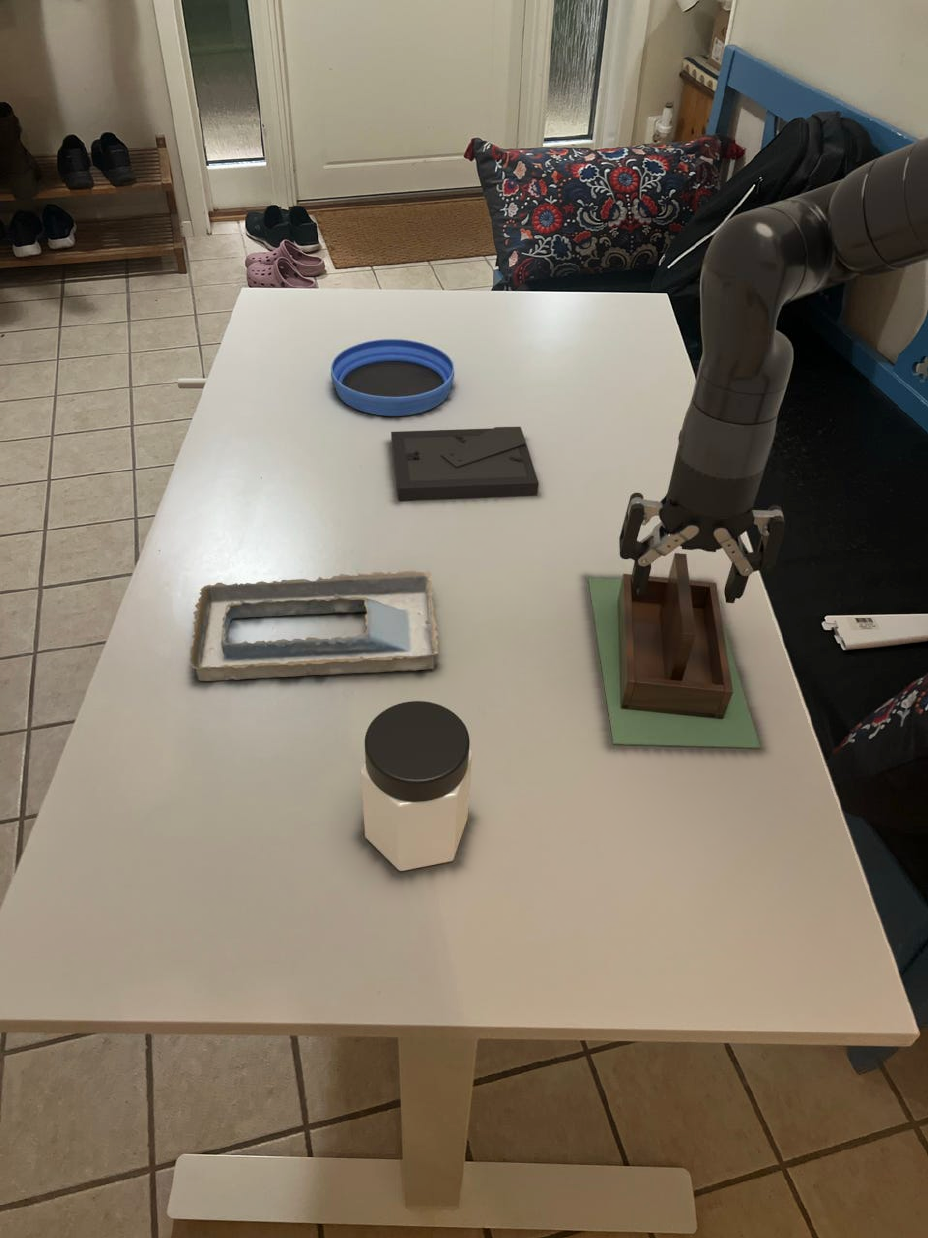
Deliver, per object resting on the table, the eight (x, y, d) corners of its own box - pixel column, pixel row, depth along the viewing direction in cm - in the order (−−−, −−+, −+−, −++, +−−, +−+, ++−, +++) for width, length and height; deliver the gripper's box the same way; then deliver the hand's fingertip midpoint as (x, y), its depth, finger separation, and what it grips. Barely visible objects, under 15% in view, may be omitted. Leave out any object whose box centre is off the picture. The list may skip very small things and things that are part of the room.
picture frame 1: (440, 675, 90) (441, 654, 88) (188, 689, 87) (182, 669, 85) (429, 588, 99) (429, 568, 97) (201, 599, 96) (197, 578, 94)
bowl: (460, 365, 138) (460, 343, 135) (446, 425, 125) (446, 402, 122) (345, 355, 139) (344, 333, 136) (319, 413, 126) (318, 391, 123)
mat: (759, 748, 84) (760, 747, 84) (612, 744, 84) (613, 743, 84) (709, 583, 102) (710, 582, 102) (588, 579, 101) (588, 578, 101)
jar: (456, 781, 80) (460, 691, 72) (479, 858, 74) (487, 770, 66) (357, 798, 78) (351, 708, 70) (373, 879, 73) (368, 792, 64)
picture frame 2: (519, 439, 123) (391, 443, 121) (521, 425, 121) (391, 429, 119) (537, 495, 113) (398, 501, 111) (539, 480, 112) (398, 486, 110)
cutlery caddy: (723, 719, 86) (746, 654, 80) (620, 708, 87) (636, 643, 81) (708, 609, 98) (727, 545, 92) (617, 600, 99) (630, 536, 92)
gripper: (640, 467, 73) (612, 612, 84) (815, 482, 73) (763, 626, 84) (637, 421, 79) (611, 562, 90) (800, 434, 78) (753, 576, 89)
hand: (684, 593), depth 87 cm, fingers open, 8 cm apart
